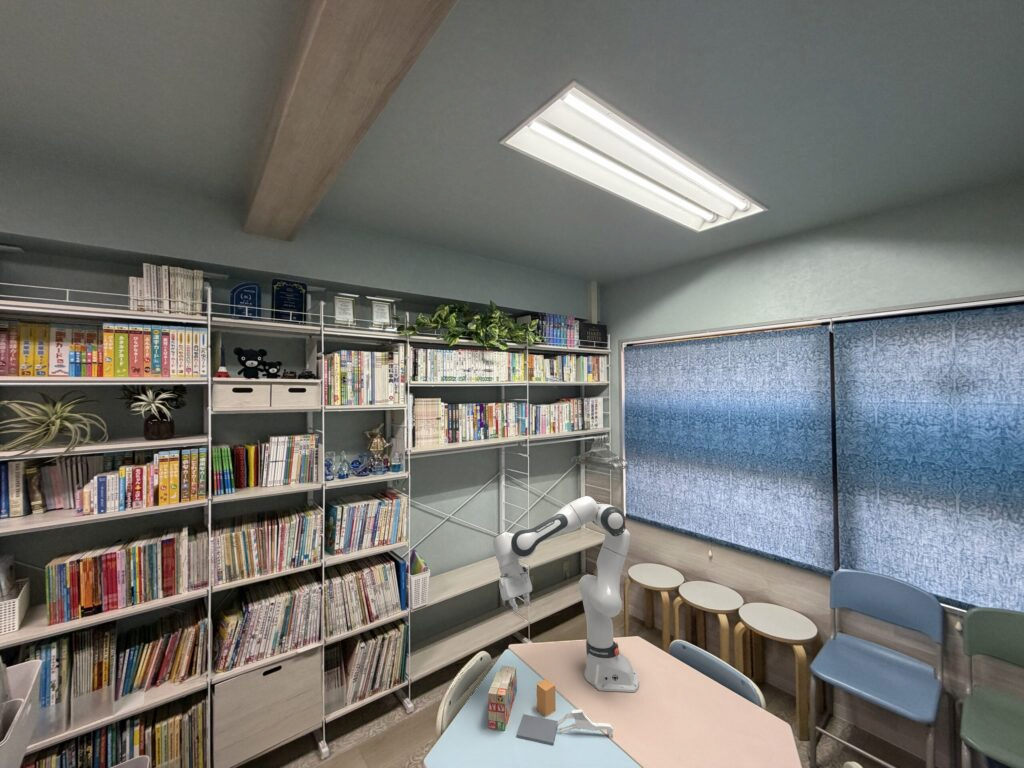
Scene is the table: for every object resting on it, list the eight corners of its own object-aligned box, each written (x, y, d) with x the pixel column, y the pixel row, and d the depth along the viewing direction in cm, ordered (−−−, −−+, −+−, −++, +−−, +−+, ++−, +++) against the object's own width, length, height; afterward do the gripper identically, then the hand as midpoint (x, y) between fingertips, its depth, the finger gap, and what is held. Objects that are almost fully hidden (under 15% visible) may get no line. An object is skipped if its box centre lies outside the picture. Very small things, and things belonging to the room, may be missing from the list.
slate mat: (558, 723, 142) (558, 721, 142) (553, 745, 133) (553, 742, 133) (523, 716, 146) (523, 714, 146) (516, 737, 136) (516, 734, 136)
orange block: (546, 703, 152) (545, 678, 153) (555, 710, 149) (555, 685, 149) (536, 709, 149) (536, 684, 150) (546, 716, 146) (545, 690, 146)
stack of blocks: (501, 689, 161) (501, 657, 162) (516, 691, 160) (516, 659, 161) (488, 729, 140) (488, 692, 141) (505, 731, 139) (505, 694, 140)
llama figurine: (567, 753, 137) (615, 736, 136) (554, 720, 138) (601, 702, 137) (567, 749, 139) (614, 731, 137) (554, 716, 140) (601, 699, 139)
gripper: (504, 572, 156) (515, 610, 150) (528, 567, 173) (539, 601, 167) (492, 578, 159) (502, 616, 152) (517, 572, 175) (527, 606, 169)
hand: (522, 608), depth 159 cm, fingers open, 8 cm apart
